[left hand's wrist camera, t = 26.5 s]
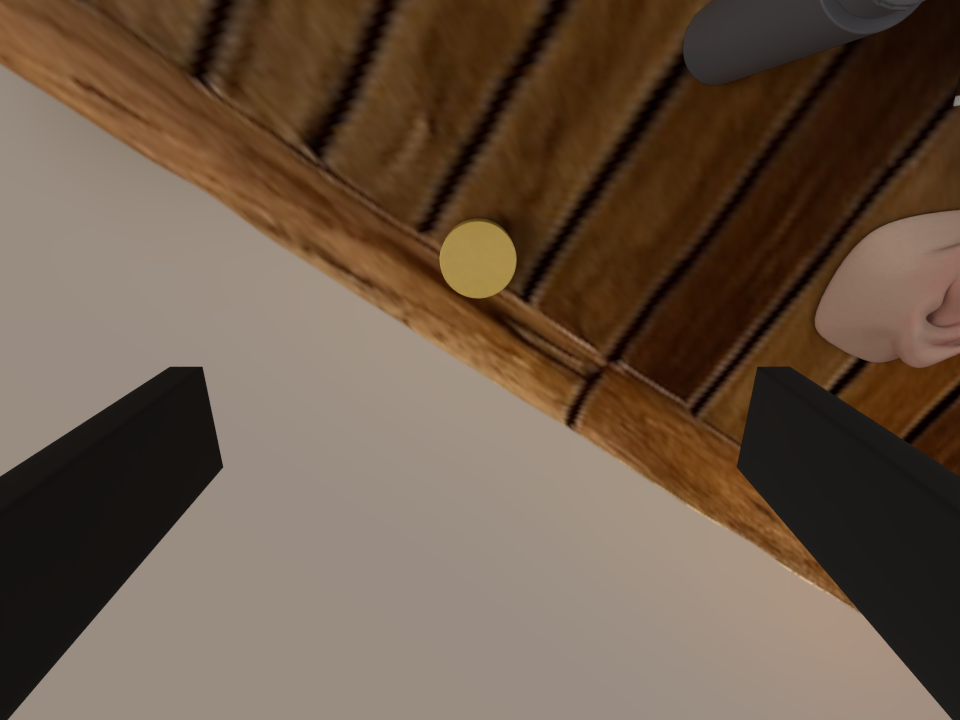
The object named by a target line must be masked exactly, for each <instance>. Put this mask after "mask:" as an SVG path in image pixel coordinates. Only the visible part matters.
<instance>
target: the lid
mask: <svg viewBox="0 0 960 720" xmlns="http://www.w3.org/2000/svg"><path fill="white" fill-rule="evenodd" d="M516 260H517V258H516V251H515V247H514V245H513V242H512V240H511V238H510V236H509V235H508V233H507V232H506V231H505V230H504V229H503V228H502V227H501V226H500V225H498V224H497V223H495V222H493V221H490V220H487V219H481V218H475V219H470V220H466V221H464V222H461V223H460V224H458V225H457V226H455V227H454V228H453V229H452V230H451V231H450V233H449V234H448V235H447V237H446V239H445V241H444V243H443V246H442V248H441V252H440V267H441V271H442V274H443V276H444V278H445V280H446V281H447V283H448V284H449V285H450V286H451V287H452V288H453V289H454V290H455V291H457V292H458V293H460V294H462V295H464V296H467V297H471V298H486V297H490V296H492V295H495V294H497V293H498V292H500V291H501V290H503V289H504V288H505V287H506V286H507V285H508V283H509V282H510V280H511V279H512V277H513V275H514V272H515V269H516Z"/></svg>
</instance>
